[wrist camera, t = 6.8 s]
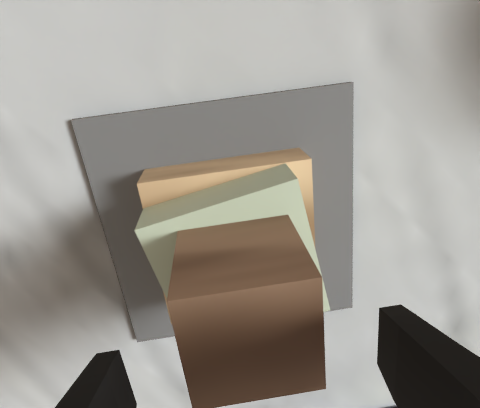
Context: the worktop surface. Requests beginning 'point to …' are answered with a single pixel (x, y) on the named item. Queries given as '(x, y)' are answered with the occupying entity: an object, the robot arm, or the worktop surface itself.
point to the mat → (216, 147)
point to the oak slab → (224, 177)
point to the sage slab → (223, 215)
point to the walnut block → (247, 312)
